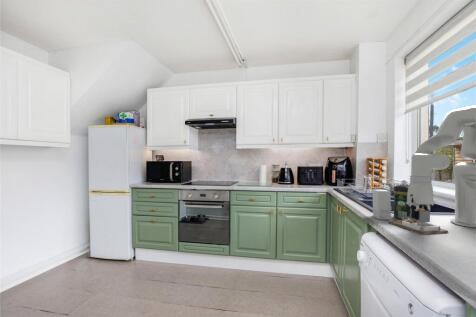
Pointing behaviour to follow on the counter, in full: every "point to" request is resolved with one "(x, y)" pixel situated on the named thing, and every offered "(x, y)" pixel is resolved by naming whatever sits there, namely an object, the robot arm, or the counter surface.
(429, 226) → the end holder
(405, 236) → the counter surface
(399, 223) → the board
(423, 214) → the connector block
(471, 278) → the counter surface
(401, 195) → the coffee jar
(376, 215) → the skincare box
